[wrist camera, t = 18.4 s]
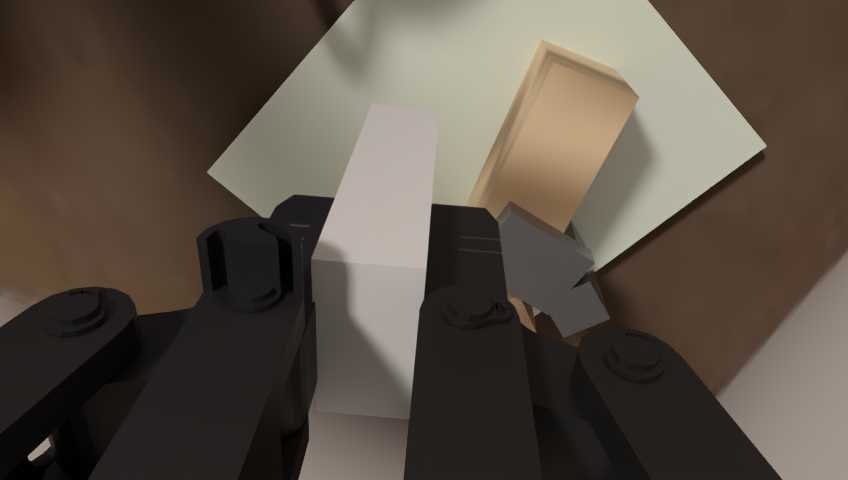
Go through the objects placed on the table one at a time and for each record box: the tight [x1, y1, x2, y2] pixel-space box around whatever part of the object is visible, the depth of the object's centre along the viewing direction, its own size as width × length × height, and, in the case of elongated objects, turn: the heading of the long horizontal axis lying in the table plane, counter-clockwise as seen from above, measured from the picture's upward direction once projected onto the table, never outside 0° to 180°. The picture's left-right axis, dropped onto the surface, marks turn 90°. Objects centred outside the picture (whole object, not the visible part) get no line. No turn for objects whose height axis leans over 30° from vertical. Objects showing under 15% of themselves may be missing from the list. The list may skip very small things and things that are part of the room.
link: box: [465, 39, 640, 332], centre depth 32 cm, size 18×7×5 cm, turn 159°
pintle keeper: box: [496, 201, 610, 338], centre depth 33 cm, size 7×10×9 cm
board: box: [207, 0, 766, 317], centre depth 34 cm, size 20×22×1 cm
